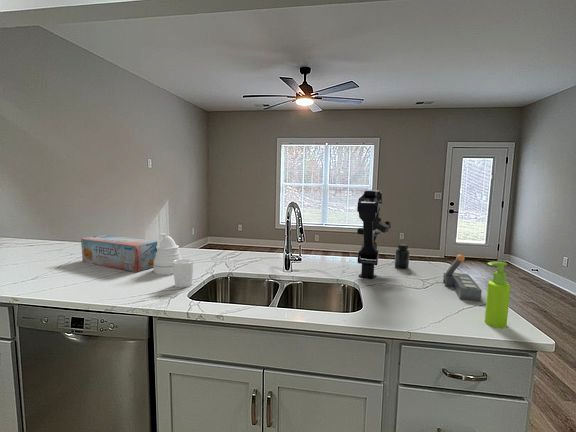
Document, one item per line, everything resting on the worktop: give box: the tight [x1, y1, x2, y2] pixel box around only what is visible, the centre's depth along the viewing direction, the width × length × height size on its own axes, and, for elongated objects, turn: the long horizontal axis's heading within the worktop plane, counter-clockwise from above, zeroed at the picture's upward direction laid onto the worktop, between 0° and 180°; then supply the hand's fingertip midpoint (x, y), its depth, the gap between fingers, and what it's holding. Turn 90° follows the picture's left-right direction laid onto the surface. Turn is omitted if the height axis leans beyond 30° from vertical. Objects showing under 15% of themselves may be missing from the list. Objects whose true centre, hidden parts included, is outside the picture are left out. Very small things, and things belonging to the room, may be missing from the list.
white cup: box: [173, 258, 194, 289], centre depth 134 cm, size 8×8×10 cm
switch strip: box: [442, 272, 483, 302], centre depth 134 cm, size 10×22×5 cm, turn 163°
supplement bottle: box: [394, 243, 410, 270], centre depth 168 cm, size 7×7×12 cm
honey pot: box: [153, 233, 183, 275], centre depth 154 cm, size 13×13×18 cm
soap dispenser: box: [484, 260, 511, 329], centre depth 102 cm, size 6×7×20 cm
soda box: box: [80, 234, 158, 273], centre depth 164 cm, size 41×14×13 cm, turn 64°
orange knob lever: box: [442, 254, 466, 279], centre depth 140 cm, size 3×3×13 cm
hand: (371, 246), depth 163 cm, fingers closed
